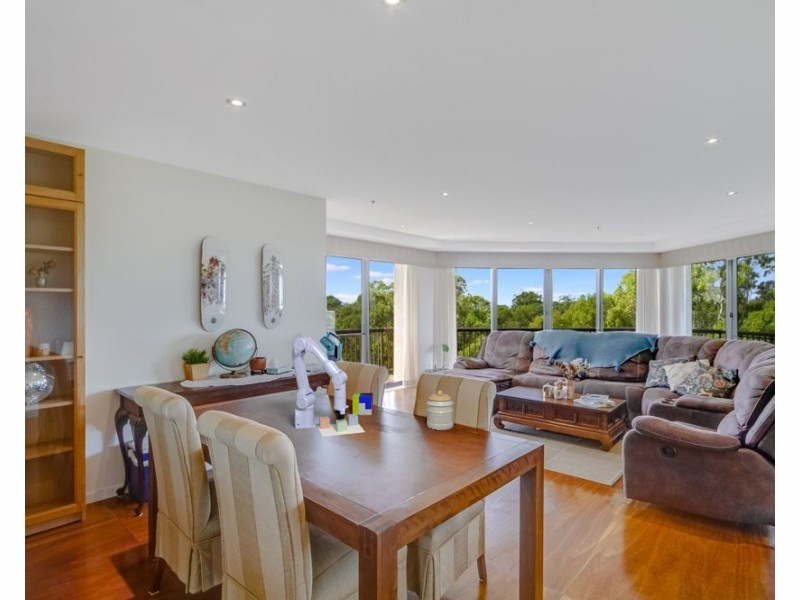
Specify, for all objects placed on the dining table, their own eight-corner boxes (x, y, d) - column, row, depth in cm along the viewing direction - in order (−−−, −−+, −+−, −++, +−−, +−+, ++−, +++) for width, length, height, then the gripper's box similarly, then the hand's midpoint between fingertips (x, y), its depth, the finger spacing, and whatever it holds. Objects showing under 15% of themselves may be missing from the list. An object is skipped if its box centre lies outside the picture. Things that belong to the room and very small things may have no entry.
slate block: (349, 426, 210) (349, 416, 210) (347, 423, 214) (347, 414, 214) (358, 425, 211) (358, 416, 211) (356, 422, 215) (356, 413, 215)
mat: (322, 437, 194) (322, 436, 194) (317, 426, 211) (317, 425, 211) (365, 432, 200) (365, 431, 200) (356, 422, 217) (356, 421, 217)
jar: (453, 422, 215) (452, 387, 215) (453, 430, 202) (453, 393, 202) (427, 422, 216) (427, 387, 216) (426, 430, 203) (426, 393, 203)
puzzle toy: (371, 415, 230) (371, 397, 230) (352, 415, 230) (352, 397, 230) (372, 410, 240) (372, 392, 240) (355, 410, 240) (354, 393, 240)
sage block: (337, 432, 200) (337, 422, 200) (336, 429, 204) (335, 420, 204) (347, 431, 202) (347, 421, 201) (345, 428, 206) (345, 419, 206)
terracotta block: (320, 429, 205) (320, 419, 205) (319, 426, 210) (319, 417, 210) (329, 428, 207) (329, 418, 207) (328, 425, 211) (328, 416, 211)
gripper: (351, 400, 201) (351, 428, 201) (345, 393, 215) (345, 420, 215) (336, 401, 199) (336, 430, 199) (331, 394, 212) (331, 421, 212)
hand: (340, 425), depth 206 cm, fingers closed
